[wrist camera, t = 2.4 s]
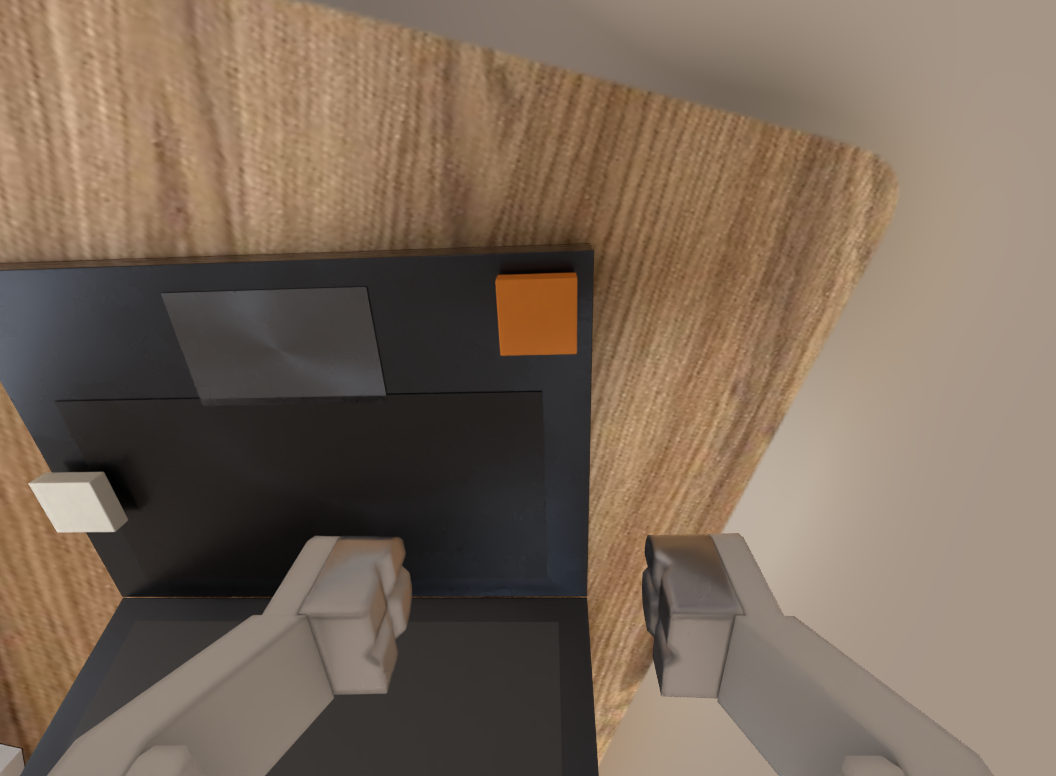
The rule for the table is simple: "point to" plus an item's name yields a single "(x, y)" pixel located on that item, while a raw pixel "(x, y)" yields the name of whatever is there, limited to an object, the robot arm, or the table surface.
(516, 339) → the key amber
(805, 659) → the robot arm
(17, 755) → the mounting plate
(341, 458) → the laptop
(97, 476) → the off-white flat block
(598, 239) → the table surface
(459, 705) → the laptop screen
